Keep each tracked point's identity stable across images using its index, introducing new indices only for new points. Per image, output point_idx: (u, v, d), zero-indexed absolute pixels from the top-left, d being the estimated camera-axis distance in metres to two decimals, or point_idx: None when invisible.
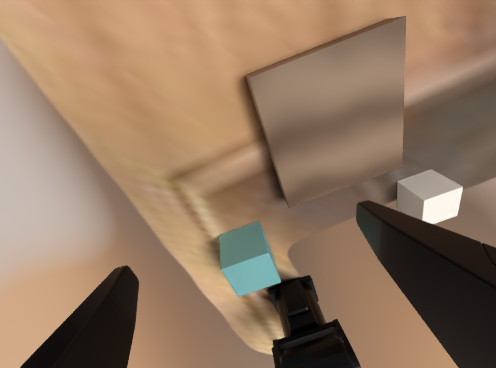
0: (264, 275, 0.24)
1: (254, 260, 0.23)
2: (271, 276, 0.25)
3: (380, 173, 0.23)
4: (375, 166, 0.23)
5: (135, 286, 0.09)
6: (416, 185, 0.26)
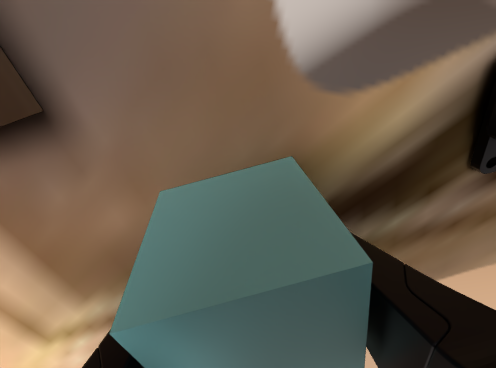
0: (282, 327, 0.05)
1: (163, 366, 0.05)
2: (302, 305, 0.05)
3: None
4: None
5: None
6: None
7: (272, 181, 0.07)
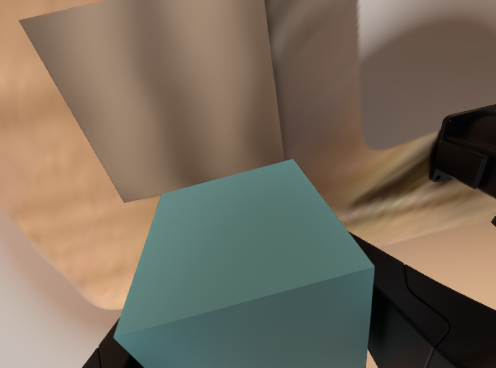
0: (284, 330, 0.05)
1: None
2: (304, 308, 0.05)
3: (263, 16, 0.13)
4: (247, 30, 0.14)
5: None
6: None
7: (274, 184, 0.07)
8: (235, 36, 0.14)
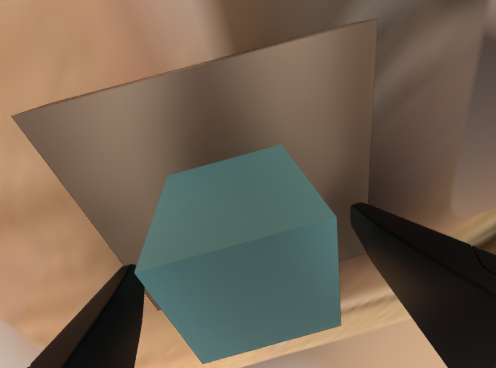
0: (269, 273, 0.06)
1: (174, 306, 0.06)
2: (283, 253, 0.06)
3: (369, 87, 0.09)
4: (344, 106, 0.09)
5: (141, 284, 0.09)
6: None
7: (263, 164, 0.09)
8: (326, 115, 0.10)
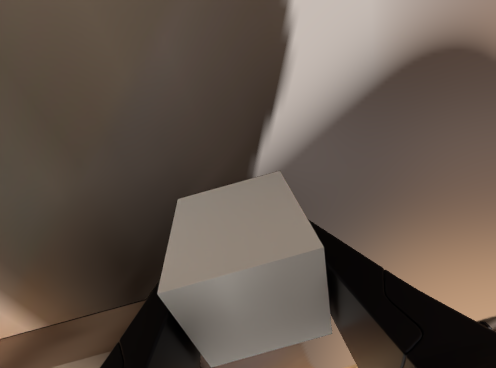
0: None
1: None
2: None
3: None
4: None
5: None
6: None
7: None
8: None
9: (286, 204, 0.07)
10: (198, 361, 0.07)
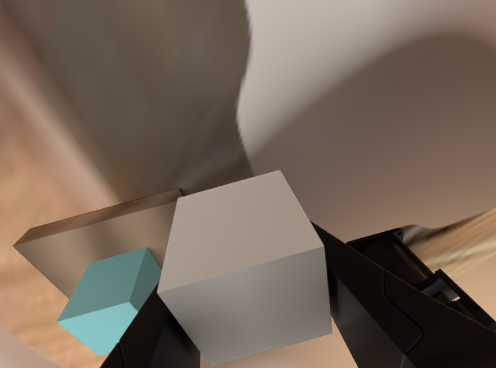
0: (112, 320, 0.16)
1: (76, 332, 0.16)
2: (114, 313, 0.16)
3: None
4: None
5: None
6: None
7: (130, 263, 0.19)
8: (166, 234, 0.19)
9: (286, 202, 0.07)
10: (198, 361, 0.07)
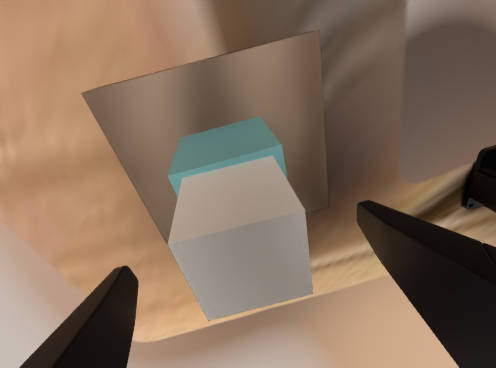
0: None
1: None
2: None
3: (319, 76, 0.14)
4: (302, 89, 0.14)
5: (135, 286, 0.09)
6: None
7: (246, 127, 0.13)
8: (290, 95, 0.14)
9: (276, 180, 0.08)
10: None
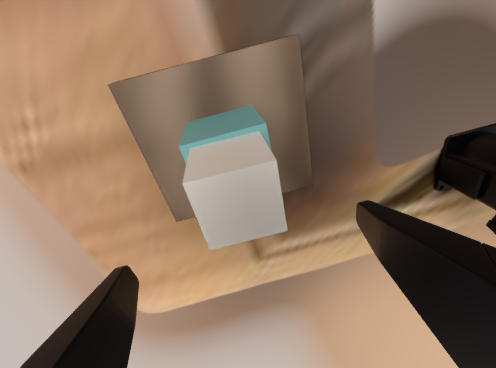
0: None
1: None
2: None
3: (300, 71, 0.17)
4: (286, 82, 0.17)
5: (135, 286, 0.09)
6: None
7: (240, 112, 0.16)
8: (277, 87, 0.17)
9: (259, 145, 0.11)
10: None
